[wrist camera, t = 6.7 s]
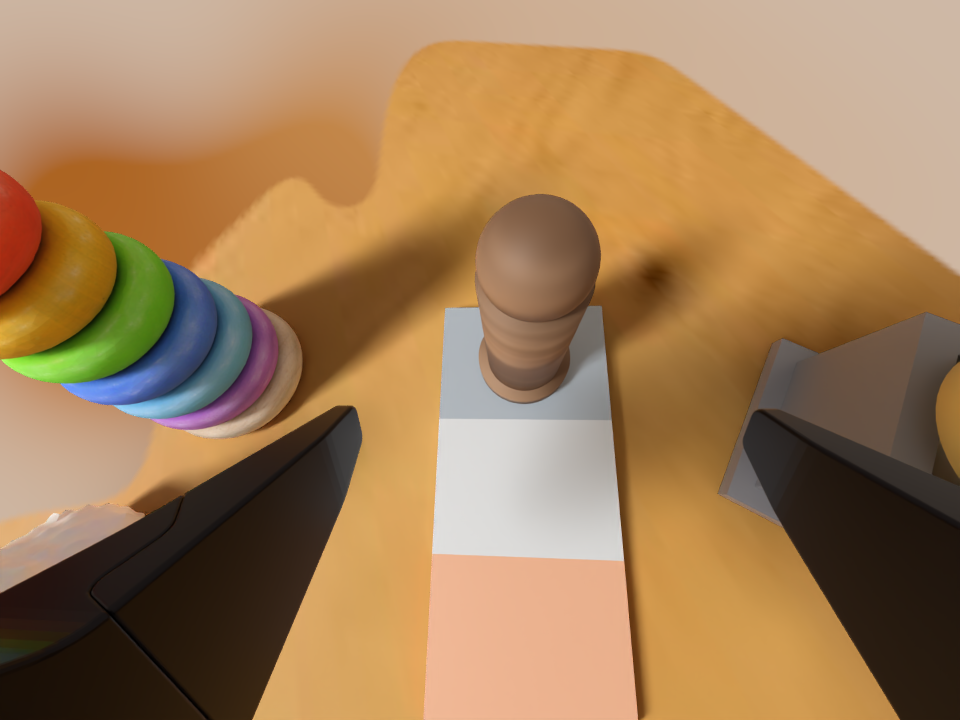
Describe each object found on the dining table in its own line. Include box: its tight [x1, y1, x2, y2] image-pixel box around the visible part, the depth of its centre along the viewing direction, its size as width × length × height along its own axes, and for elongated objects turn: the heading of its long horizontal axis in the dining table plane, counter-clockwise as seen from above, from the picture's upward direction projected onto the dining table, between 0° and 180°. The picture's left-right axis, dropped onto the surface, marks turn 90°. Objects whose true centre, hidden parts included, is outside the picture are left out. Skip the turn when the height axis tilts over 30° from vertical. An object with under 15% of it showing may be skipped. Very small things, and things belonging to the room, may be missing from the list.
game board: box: [424, 306, 638, 720], centre depth 19 cm, size 20×9×1 cm, turn 179°
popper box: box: [718, 312, 960, 527], centre depth 15 cm, size 9×9×7 cm
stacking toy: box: [0, 170, 303, 439], centre depth 13 cm, size 8×8×19 cm
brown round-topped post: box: [475, 194, 601, 404], centre depth 15 cm, size 5×5×12 cm
